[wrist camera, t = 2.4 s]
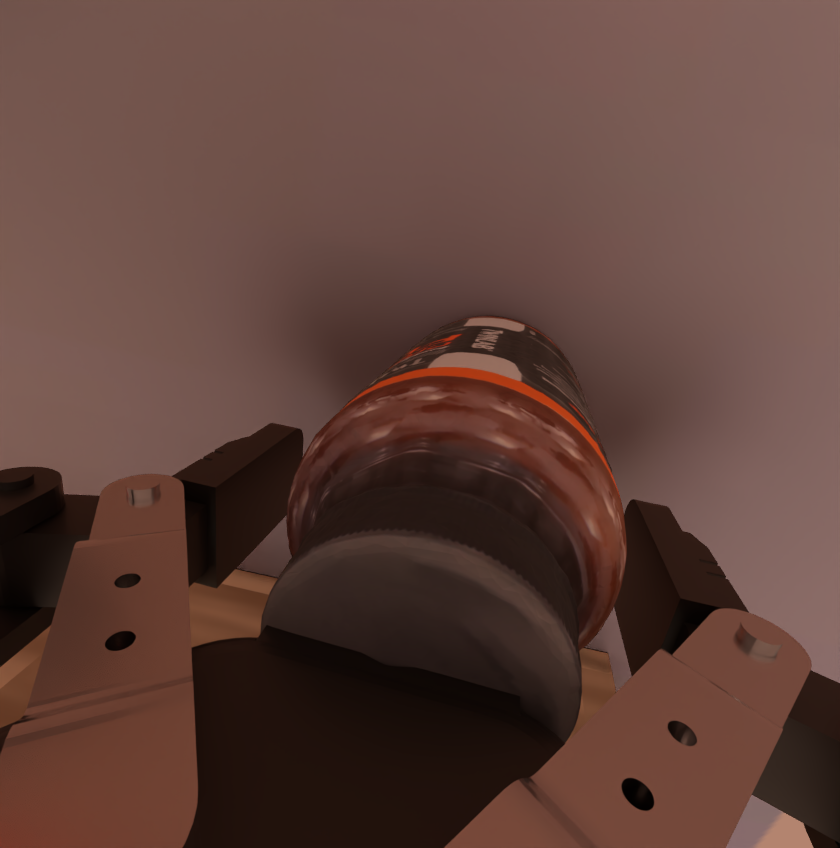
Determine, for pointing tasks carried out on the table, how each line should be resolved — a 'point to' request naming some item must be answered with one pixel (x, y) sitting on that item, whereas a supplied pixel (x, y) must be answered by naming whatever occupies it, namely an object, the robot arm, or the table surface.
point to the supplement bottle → (461, 520)
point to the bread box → (241, 617)
